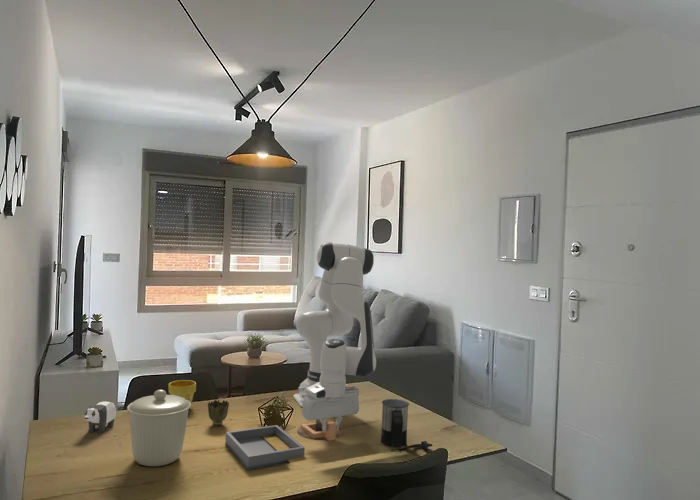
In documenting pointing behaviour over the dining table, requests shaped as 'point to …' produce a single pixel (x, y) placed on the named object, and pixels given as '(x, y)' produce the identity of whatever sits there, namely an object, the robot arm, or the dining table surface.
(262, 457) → the tray
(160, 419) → the canister
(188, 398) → the plant pot
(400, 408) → the milk frother
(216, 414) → the cup
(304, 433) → the stand
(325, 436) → the tabbed ring
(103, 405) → the giant panda
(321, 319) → the robot arm
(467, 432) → the dining table surface
